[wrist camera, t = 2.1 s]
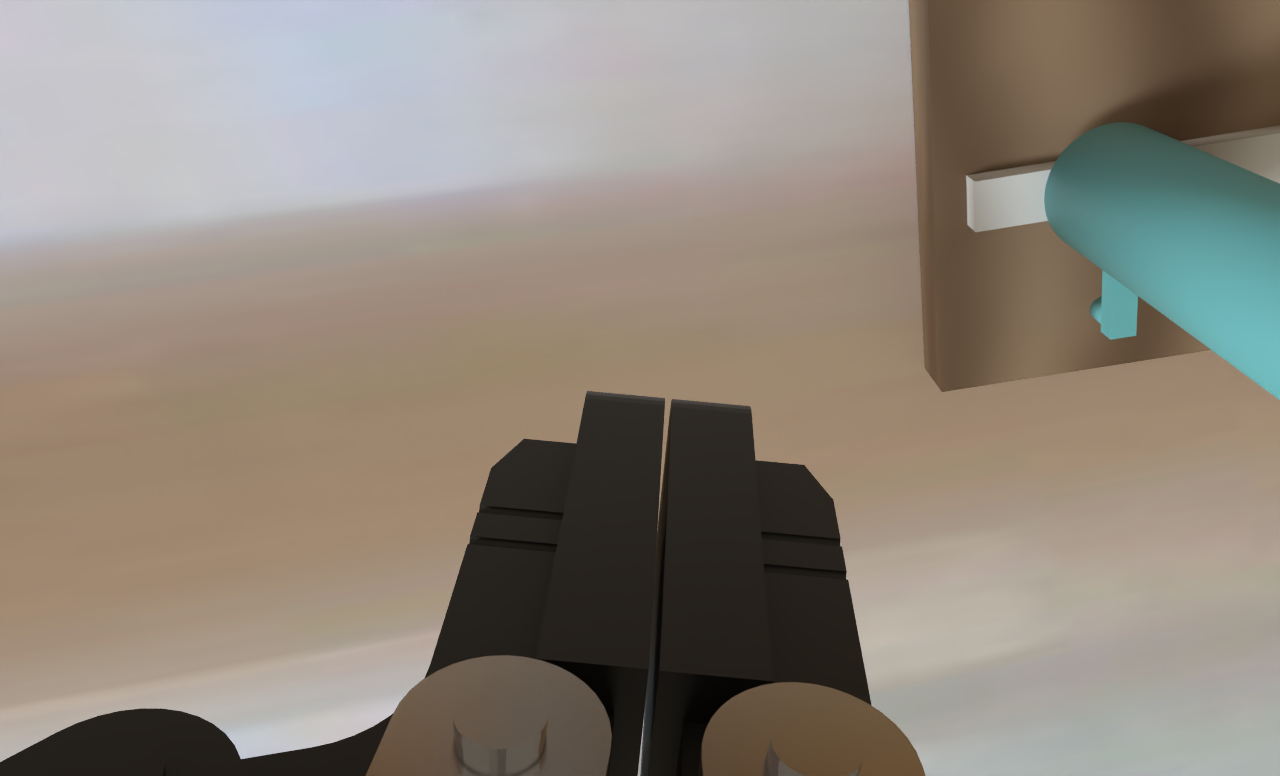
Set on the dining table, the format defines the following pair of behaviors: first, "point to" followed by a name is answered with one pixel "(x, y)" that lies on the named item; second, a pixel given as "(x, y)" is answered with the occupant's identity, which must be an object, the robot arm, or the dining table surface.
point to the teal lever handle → (1175, 240)
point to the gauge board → (1032, 142)
